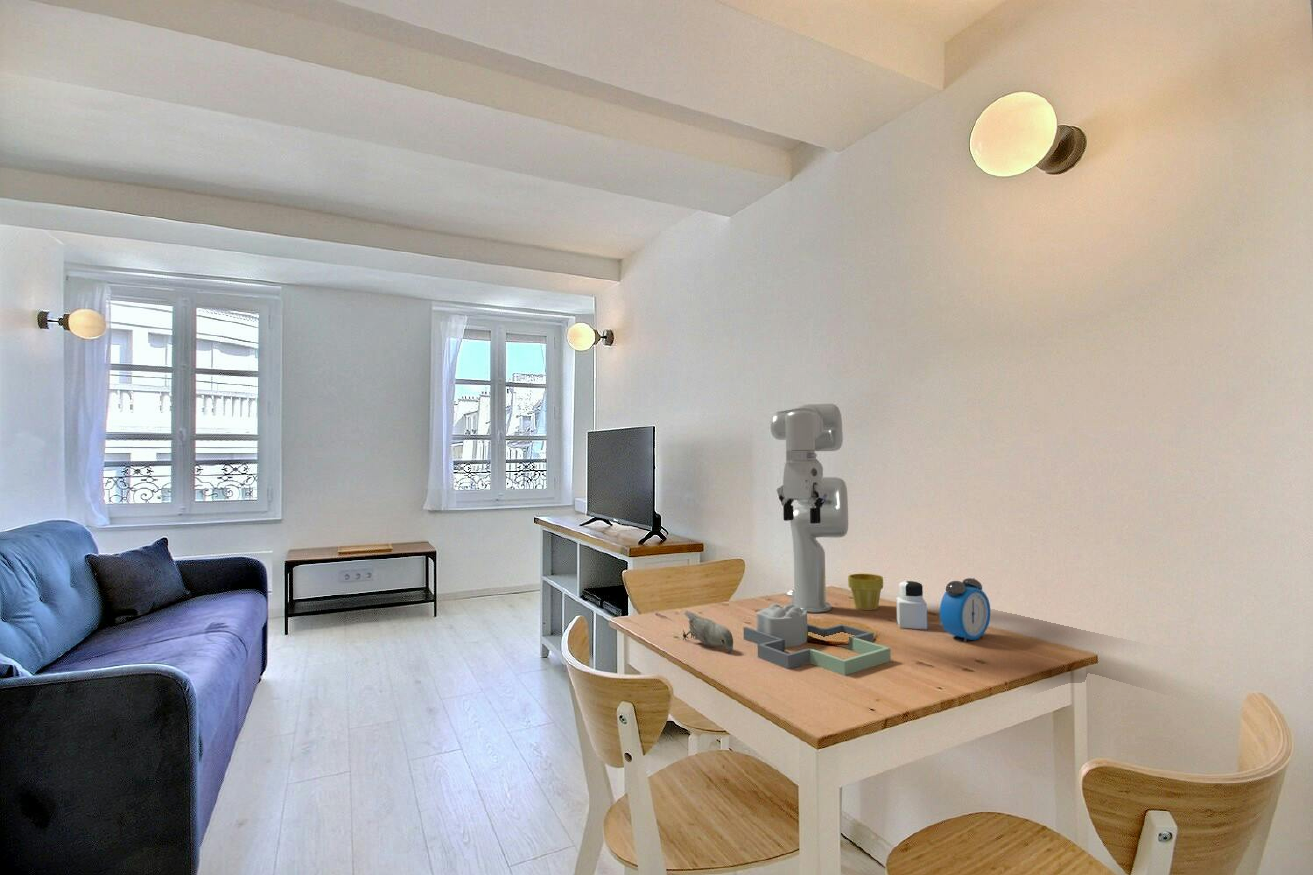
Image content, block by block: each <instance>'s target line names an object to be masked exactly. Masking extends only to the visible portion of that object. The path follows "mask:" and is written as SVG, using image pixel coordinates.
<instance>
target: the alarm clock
mask: <svg viewBox="0 0 1313 875" xmlns="http://www.w3.org/2000/svg"><path fill="white" fill-rule="evenodd" d="M939 617H940V618H939V619H940V623H941V626H942V628H943V629H944V630H945V632H946V633H947V634H949V635H952V636H955V637H959V638H962V639H964V641H963V642H964V643H966V642H967V640H970V641H976V640H978V639H980V638H982V639H983V635H984V634H985V633H986V631H987V629H988V627H989V625H990V621H991V604H990V600H989V598H988V596H987V595H986V592H985V591H983V585H982V583H981V582H980V581H979V580H978V579H975V577H973V578H972V577H971V578H969V577H967V578H965V579H963V580H962V581H959V580H952V581H950V582H948V583H947V584H946V587H945V593H944V594H943V596H942V598H941V601H940V607H939Z"/></svg>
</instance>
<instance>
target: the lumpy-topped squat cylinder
mask: <svg viewBox="0 0 1313 875" xmlns="http://www.w3.org/2000/svg"><path fill="white" fill-rule="evenodd" d="M807 624H808V612H806V611H805V610H804V609H801V608H799V607H795V606H793V605H790V604H785V605H784V606H782V605H779V604H777V603H772V604H770V605H769V607H765V608H763V609H761V610H758V611H757V613H756V630H758V631H761V632H764V633H767V634H769V635H772V636H775V637H778V638H781V639H784V640H785V648H791V647H792V648H793V647H796V646H802V645H804V644H807V642H808V641H807V636H808V628H807Z"/></svg>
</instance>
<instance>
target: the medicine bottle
mask: <svg viewBox="0 0 1313 875" xmlns="http://www.w3.org/2000/svg"><path fill="white" fill-rule="evenodd" d="M898 590H899V596H896V599H895V600H896V622H897V624H898V627H899V628H900V629H912V630H927V629H928V611H927V610H928V609H927V608H928V607H927V603H926V601H925V599H924V595H923V592H924V591H923V584H922V583H920V582H918V581H913V580H903V581H901V582H899V584H898Z"/></svg>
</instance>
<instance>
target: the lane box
mask: <svg viewBox="0 0 1313 875" xmlns="http://www.w3.org/2000/svg"><path fill="white" fill-rule="evenodd" d="M807 628H808V632H812V633H814V634H818V635H821V636H823V637H825V636H829V635H833V634H836V633H840V632H844V633H848V634H851V635H855V636H853V637H849V645H837V647H840V648H842V649H846V650H849V651H852V652H856V653H859V654H858V655H855V656H851V657H847V658H840V657H838V656H834V655H831V654H829V653H825V652H824V651H821V650H820V651H819V650H816V649H814V648H811V647H808V648H804V649H800V650H797V651H796V650H795V651H793V652H789V651H786V647H785V640H784V639H781V638H778V637H775V636H772V635H769V634H767V633H764V632H761V631H758V630H757V629H755V628H751V627H748V626H744V627H743V639H744V640H745V641H749V642H752V643H754V644H757V658H759V659H761V660H764V661H767V662H769V663H771V664H775V665H777V666H779V667H781V668H784V669H787V670H790V669H793V668H796V667H797V668H798V667H801V666H804V665H807V664H812V665H815V666H817V667H819V668H823V669H826V670H829V671H831V672H833V673H837V674H839V675H842V676H848V675H850V674H853V673H857V672H860V671H864V670H867V669H869V668H873V667H876V666H879V665H883V664H885V663H889V662H891V661H892V659H891V656H892V655H891V653H892V652H891V647H888V646H885V645H881V644H878V643H875V641H874V639H875V637H874V636H875V635H874V632H872V631H868V630H865V629H861V628H858V627H853V626H852V625H851V626H850V625H846V624H843V623H840V624H836V625H831V626H829V627H825V628H823V627H820V626H817V625H814V624H810V623H807Z"/></svg>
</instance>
